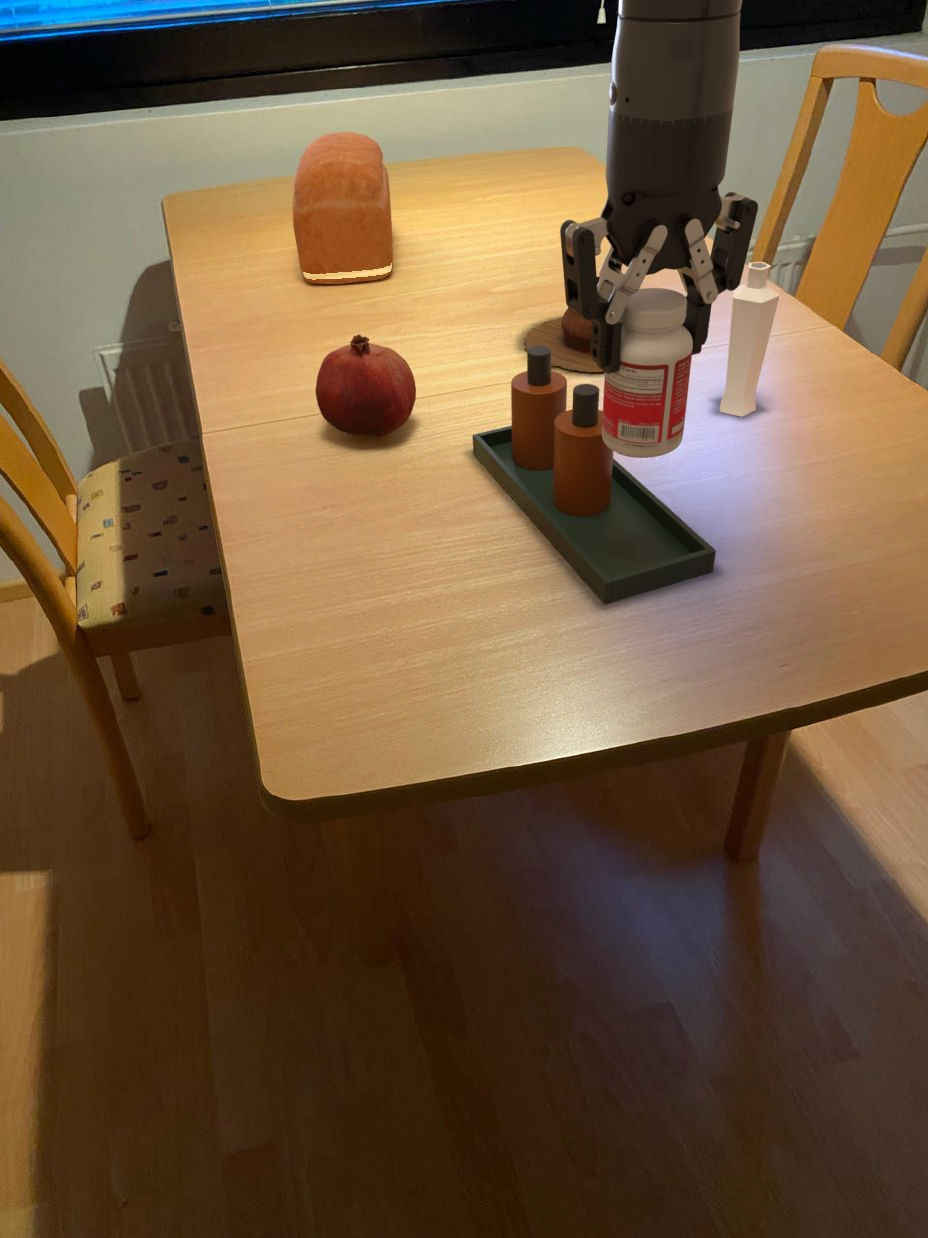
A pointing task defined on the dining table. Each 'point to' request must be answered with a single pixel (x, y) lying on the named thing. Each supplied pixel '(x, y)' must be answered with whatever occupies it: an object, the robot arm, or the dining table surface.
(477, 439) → the tray
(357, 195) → the bread
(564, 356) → the ceramic pot
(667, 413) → the pill bottle
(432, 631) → the dining table surface
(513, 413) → the amber bottle far
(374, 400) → the fruit
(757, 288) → the white faceted vase
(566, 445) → the amber bottle middle
